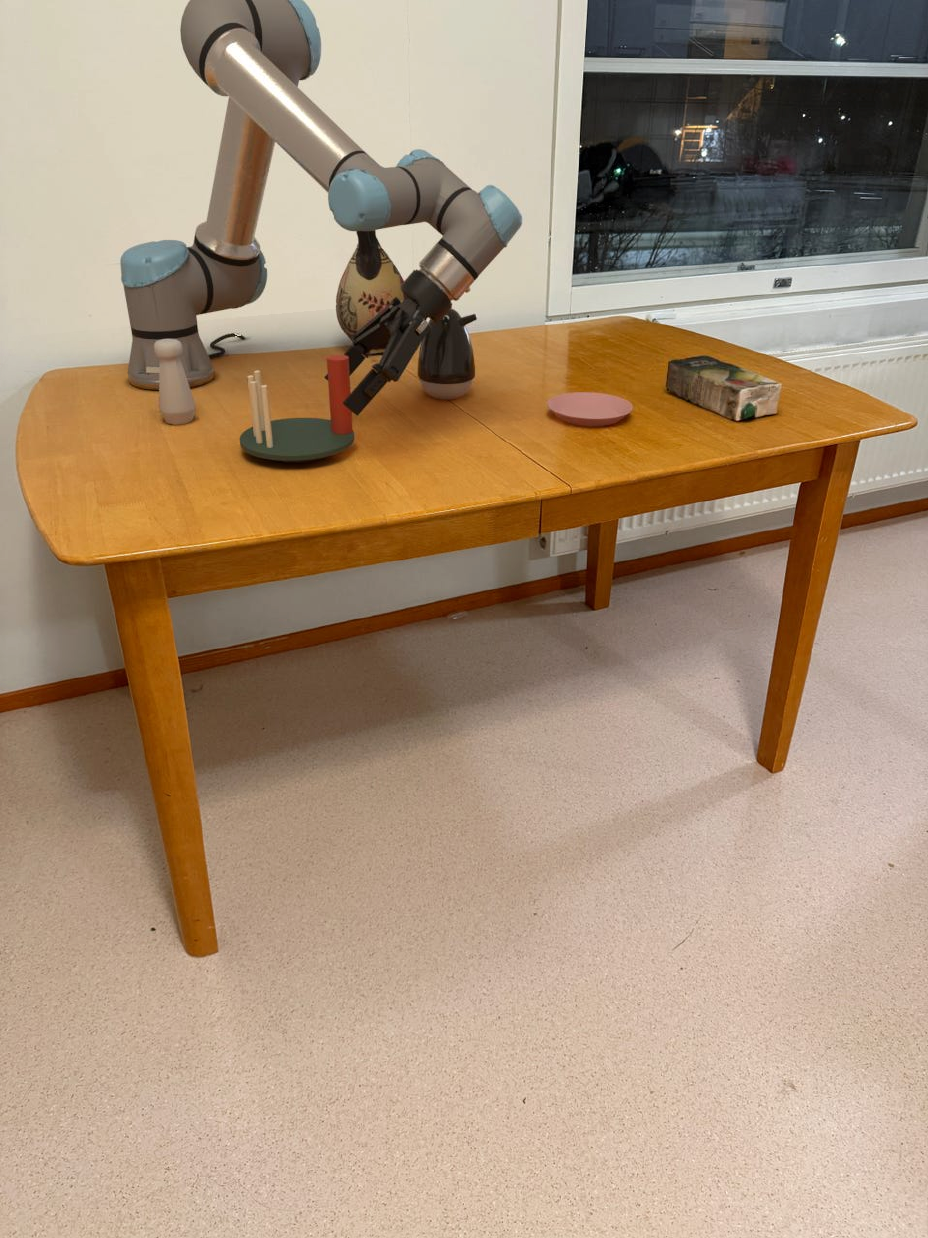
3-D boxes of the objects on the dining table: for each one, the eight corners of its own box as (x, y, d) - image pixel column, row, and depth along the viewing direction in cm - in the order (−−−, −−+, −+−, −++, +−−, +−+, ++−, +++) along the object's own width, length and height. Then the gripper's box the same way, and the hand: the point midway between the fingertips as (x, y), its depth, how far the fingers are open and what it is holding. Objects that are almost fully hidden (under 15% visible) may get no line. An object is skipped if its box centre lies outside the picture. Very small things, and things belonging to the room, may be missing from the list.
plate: (582, 398, 163) (583, 386, 162) (648, 416, 155) (649, 405, 154) (528, 415, 155) (529, 403, 154) (595, 436, 146) (596, 423, 145)
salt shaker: (204, 417, 152) (193, 337, 145) (184, 428, 147) (172, 346, 141) (174, 413, 154) (162, 334, 147) (153, 423, 149) (140, 342, 142)
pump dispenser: (469, 406, 159) (471, 315, 151) (411, 401, 160) (409, 312, 153) (480, 389, 167) (482, 303, 160) (425, 385, 169) (424, 299, 161)
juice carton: (783, 415, 156) (790, 379, 153) (740, 424, 152) (745, 387, 149) (703, 386, 171) (708, 352, 168) (662, 393, 167) (665, 359, 164)
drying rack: (247, 470, 129) (237, 381, 123) (234, 432, 143) (224, 350, 137) (365, 458, 134) (361, 371, 127) (342, 422, 148) (337, 342, 141)
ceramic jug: (348, 338, 199) (340, 186, 184) (418, 341, 197) (416, 188, 182) (327, 358, 184) (316, 195, 169) (403, 362, 183) (399, 197, 167)
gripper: (481, 321, 125) (378, 438, 129) (429, 287, 146) (341, 388, 149) (443, 283, 121) (338, 404, 125) (395, 253, 141) (306, 358, 145)
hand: (339, 396), depth 137 cm, fingers open, 13 cm apart
